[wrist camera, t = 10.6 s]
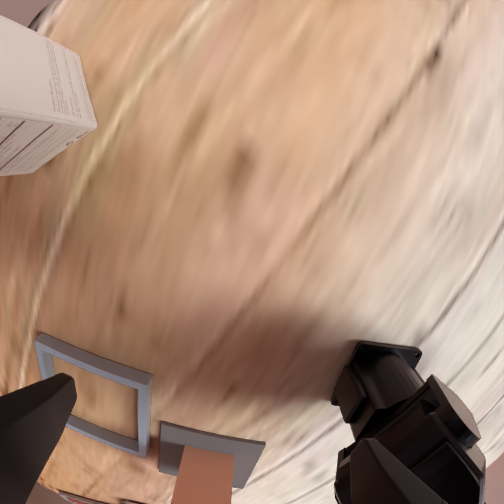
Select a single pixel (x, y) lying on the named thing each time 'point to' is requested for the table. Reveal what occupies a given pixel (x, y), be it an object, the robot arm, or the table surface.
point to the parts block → (204, 477)
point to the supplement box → (39, 99)
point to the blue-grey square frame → (108, 370)
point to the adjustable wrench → (82, 502)
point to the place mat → (180, 436)
